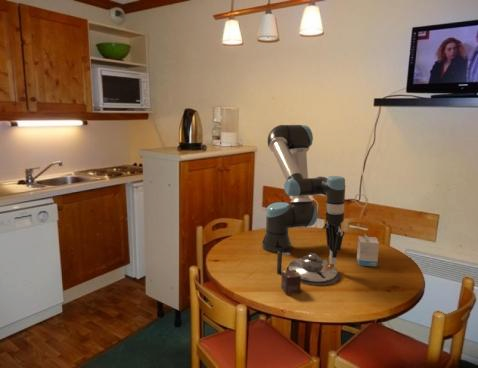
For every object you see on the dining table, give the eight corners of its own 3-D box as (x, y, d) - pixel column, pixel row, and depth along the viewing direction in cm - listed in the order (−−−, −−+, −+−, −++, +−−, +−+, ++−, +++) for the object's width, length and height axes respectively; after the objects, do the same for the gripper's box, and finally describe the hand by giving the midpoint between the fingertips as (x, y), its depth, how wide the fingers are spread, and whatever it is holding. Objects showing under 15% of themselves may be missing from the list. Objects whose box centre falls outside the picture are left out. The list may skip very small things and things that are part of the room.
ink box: (377, 267, 160) (380, 239, 157) (358, 265, 162) (360, 238, 159) (374, 259, 168) (376, 233, 166) (356, 258, 170) (358, 232, 167)
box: (300, 293, 136) (301, 276, 135) (285, 295, 135) (286, 277, 133) (294, 286, 142) (295, 269, 140) (280, 287, 141) (281, 270, 139)
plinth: (276, 273, 152) (276, 272, 152) (303, 257, 169) (303, 257, 169) (323, 291, 138) (323, 290, 138) (348, 272, 155) (348, 271, 155)
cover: (300, 270, 150) (301, 257, 149) (302, 262, 159) (303, 249, 157) (321, 273, 148) (322, 260, 147) (322, 264, 156) (323, 252, 155)
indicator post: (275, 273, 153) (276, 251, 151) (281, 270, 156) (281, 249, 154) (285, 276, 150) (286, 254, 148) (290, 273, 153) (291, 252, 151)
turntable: (286, 279, 146) (286, 266, 145) (290, 259, 166) (291, 248, 165) (337, 285, 141) (338, 272, 140) (336, 264, 161) (337, 252, 160)
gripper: (350, 215, 144) (348, 268, 149) (335, 207, 156) (333, 257, 161) (334, 217, 142) (332, 270, 147) (320, 209, 154) (318, 258, 159)
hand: (332, 263), depth 154 cm, fingers closed
